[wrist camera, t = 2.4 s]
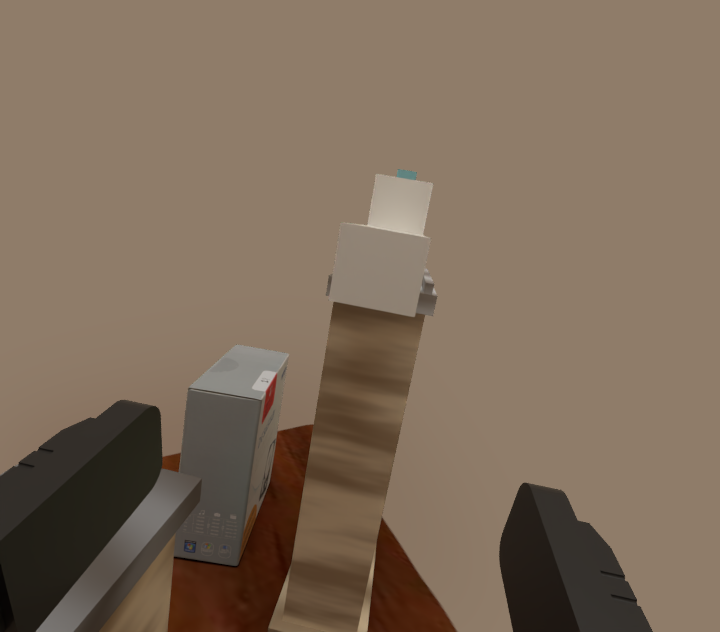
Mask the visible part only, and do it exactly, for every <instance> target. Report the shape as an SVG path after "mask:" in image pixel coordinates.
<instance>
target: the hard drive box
mask: <svg viewBox="0 0 720 632" xmlns="http://www.w3.org/2000/svg"><path fill="white" fill-rule="evenodd" d="M288 357H289V354H287V353H282V352H277V351H271V350H266V349H260V348H254V347H248V346H242V345H235V346H234V347H233V348H232V349H230V350H229V351H228V352H227V353H226V354H225V355H224V356H223V357H222V358H221V359H220V360H218V361H217V362H216V363H215V364H214V365H213V366H212V367H211V368H209V369H208V370H207V371H206V372H205V373H204V374H203V375H202V376H201V377H199V378H198V379H197V380H196V381H195V382H194V383H193V384H192V385H191V386H190V387H189V388H188V392H187V401H186V410H185V420H184V429H183V439H182V449H181V458H180V467H179V473H183V474H187V475H191V476H195V477H200V478H202V486H201V496H200V502H199V503H198V504H197V506H196V507H195V508H194V510H193V511H192V512H191V514H190V515H189V516H188V517H187V519H186V520H185V521H184V523H183V524H182V525H181V526H180V528H179V529H178V530H177V532H176V534H175V546H174V557H181V558H188V559H194V560H200V561H207V562H213V563H219V564H225V565H232V566H237V565H238V564H239V561H240V559H241V556H242V554H243V551H244V548H245V546H246V544H247V541H248V538H249V536H250V533H251V530H252V527H253V525H254V522H255V519H256V517H257V514H258V512H259V509H260V506H261V504H262V502H263V499H264V496H265V493H266V491H267V488H268V485H269V483H270V477H271V471H272V464H273V458H274V451H275V444H276V437H277V429H278V423H279V416H280V409H281V403H282V396H283V389H284V383H285V376H286V370H287V364H288Z"/></svg>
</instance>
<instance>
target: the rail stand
mask: <svg viewBox="0 0 720 632" xmlns="http://www.w3.org/2000/svg"><path fill="white" fill-rule="evenodd" d="M332 275H333V274H331V275H329V279H328V285H327V292H326V296H329V294H330V288H331V281H332ZM436 299H437V294H436V292H435V290H434V283H433V281H432V278H431V276H430V274H429V272H428V270H427V269H425V270H424V275H423V280H422V285H421V289H420V294H419V299H418V304H417V308H416V313H415V317H411V316H406V315H401V314H395V313H390V312H385V311H380V310H375V309H370V308H365V307H359V306H354V305H349V304H344V303H339V302H334V303H333V309H332V316H331V322H330V328H329V334H328V340H327V346H326V353H325V359H324V365H323V371H322V377H321V384H320V390H319V396H318V402H317V409H316V415H315V421H314V427H313V433H312V439H311V445H310V452H309V458H308V464H307V470H306V476H305V483H304V489H303V495H302V501H301V507H300V513H299V520H298V526H297V532H296V538H295V544H294V551H293V557H292V563H291V566H290V568H289V571H288V574H287V577H286V580H285V582H284V585H283V588H282V591H281V594H280V596H279V599H278V602H277V605H276V608H275V611H274V613H273V616H272V619H271V622H270V625H269V627H268V632H367V629H368V620H369V611H370V601H371V592H372V582H373V573H374V563H375V554H376V541H377V537H378V532H379V527H380V523H381V518H382V513H383V509H384V504H385V499H386V494H387V490H388V485H389V480H390V476H391V471H392V467H393V462H394V457H395V453H396V448H397V443H398V439H399V434H400V429H401V425H402V420H403V415H404V411H405V406H406V401H407V396H408V392H409V387H410V383H411V378H412V373H413V368H414V364H415V359H416V355H417V350H418V345H419V340H420V336H421V331H422V326H423V322H424V317H425V315H430V316H433V313H434V309H435V304H436Z"/></svg>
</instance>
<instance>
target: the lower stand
mask: <svg viewBox="0 0 720 632" xmlns="http://www.w3.org/2000/svg"><path fill="white" fill-rule="evenodd" d="M17 466H18V465H16V466H15V467H17ZM7 471H8V470H7ZM4 473H5V472H4ZM4 473H2V474H4ZM2 474H1V475H2ZM1 475H0V476H1ZM201 486H202V478H200V477H195V476H191V475H187V474H183V473H178V472H174V471H170V470H166V469H162V468H161V472H160V475H159V477H158V480H157V482H156V484H155V486H154V487H153V489H152V490H151V491H150V493H149V494H148V495H147V496H146V498H145V499H144V500H143V501H142V502H141V504H140V505H139V506H138V507H137V509H136V510H135V511H134V512H133V513H132V515H131V516H130V517H129V518H128V520H127V521H126V522H125V523H124V524H123V526H122V527H121V528H120V529H119V531H118V532H117V533H116V534H115V535H114V537H113V538H112V539H111V540H110V541H109V543H108V544H107V545H106V546H105V548H104V549H103V550H102V551H101V552H100V554H99V555H98V556H97V557H96V559H95V560H94V561H93V562H92V563H91V565H90V566H89V567H88V568H87V570H86V571H85V572H84V573H83V574H82V576H81V577H80V578H79V579H78V581H77V582H76V583H75V584H74V585H73V587H72V588H71V589H70V590H69V592H68V593H67V594H66V595H65V596H64V598H63V599H62V600H61V601H60V603H59V604H58V605H57V606H56V607H55V609H54V610H53V611H52V612H51V613H50V615H49V616H48V617H47V618H46V620H45V621H44V622H43V623H42V624H41V626H40V627H39V628H38V629H37V631H36V632H167V629H168V617H169V605H170V593H171V581H172V569H173V558H174V546H175V534H176V532H177V530H178V529H179V528H180V526H181V525H182V524H183V523H184V521H185V520H186V519H187V517H188V516H189V515H190V514H191V512H192V511H193V510H194V508H195V507H196V506H197V504H198V503H199V502H200V496H201Z"/></svg>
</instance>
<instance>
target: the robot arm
mask: <svg viewBox="0 0 720 632" xmlns="http://www.w3.org/2000/svg"><path fill="white" fill-rule="evenodd" d="M161 468H162V439H161V415H160V411H159V409H158V408H157V407H156V406H151V405H147V404H142V403H137V402H132V401H128V400H120V401H118V402H116V403H115V404H113V405H112V406H111V407H110V408H108V409H107V410H106V411H104V412H103V413H102V414H101V415H99V416H98V417H97V418H96V419H95V418H88V419H86V420H84V421H82V422H79V423H77V424H75V425H72V426H70V427H68V428H66V429H63V430H61V431H60V432H59V433H58V434H56V435H55V436H53V437H52V438H51V439H50V440H48V441H47V442H45V443H44V444H43V445H41V446H40V447H39V449H38V451H34V452H32V453H31V454H29V455H28V456H27V457H25V458H24V459H23V460H21V461H20V462H19V464H18V466H17V467H15V466H13V467H12V468H10V469H9V470H8V471H6V472H5V473H4V474H2V475H1V476H0V632H36V631H37V629H38V628H39V627H40V626H41V624H42V623H43V622H44V621H45V620H46V618H47V617H48V616H49V615H50V613H51V612H52V611H53V610H54V609H55V607H56V606H57V605H58V604H59V603H60V601H61V600H62V599H63V598H64V596H65V595H66V594H67V593H68V592H69V590H70V589H71V588H72V587H73V585H74V584H75V583H76V582H77V581H78V579H79V578H80V577H81V576H82V574H83V573H84V572H85V571H86V570H87V568H88V567H89V566H90V565H91V563H92V562H93V561H94V560H95V559H96V557H97V556H98V555H99V554H100V552H101V551H102V550H103V549H104V548H105V546H106V545H107V544H108V543H109V541H110V540H111V539H112V538H113V537H114V535H115V534H116V533H117V532H118V531H119V529H120V528H121V527H122V526H123V524H124V523H125V522H126V521H127V520H128V518H129V517H130V516H131V515H132V513H133V512H134V511H135V510H136V509H137V507H138V506H139V505H140V504H141V502H142V501H143V500H144V499H145V498H146V496H147V495H148V494H149V493H150V491H151V490H152V489H153V487H154V486H155V484H156V482H157V480H158V477H159V475H160V472H161ZM499 552H500V553H499V555H500V556H499V557H500V567H501V574H502V579H503V583H504V588H505V593H506V598H507V603H508V608H509V613H510V618H511V623H512V628H513V632H653V631H652V629H651V627H650V625H649V623H648V621H647V619H646V617H645V615H644V613H643V611H642V609H641V607H640V606H637V599H636V597H635V595H634V593H633V591H632V589H631V587H630V585H629V583H628V582H627V581H625V575H624V573H623V571H622V569H621V567H620V565H619V563H618V561H617V559H616V557H615V555H614V553H613V551H612V549H611V548H610V546H608V544H607V543H606V542H605V541H604V540H603V539H602V537H601V536H600V535H599V534H598V533H597V532H596V531H595V529H594V528H593V527H592V526H591V525H590V524H589V523H586V522H581V521H578V520H577V518H576V516H575V514H574V511H573V509H572V507H571V505H570V502H569V500H568V498H567V496H566V495H565V493H564V492H563V491H561V490H558V489H553V488H548V487H543V486H539V485H534V484H529V483H523V484H522V485H521V486H520V488H519V490H518V493H517V496H516V498H515V501H514V504H513V507H512V509H511V512H510V514H509V517H508V520H507V522H506V525H505V528H504V530H503V533H502V537H501V541H500V551H499Z"/></svg>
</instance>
